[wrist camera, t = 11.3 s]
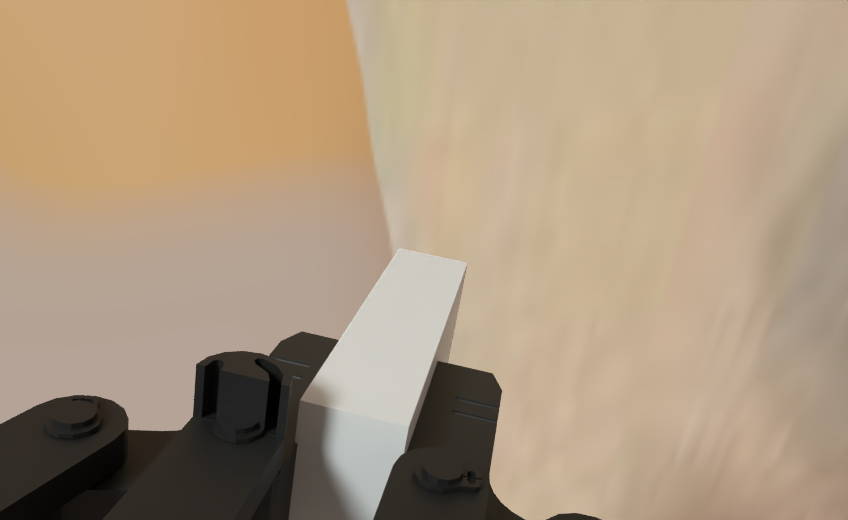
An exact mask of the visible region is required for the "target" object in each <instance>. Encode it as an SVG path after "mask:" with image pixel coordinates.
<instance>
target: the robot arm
mask: <svg viewBox="0 0 848 520" xmlns="http://www.w3.org/2000/svg"><path fill="white" fill-rule="evenodd" d="M466 268H467V263H466V262H462V261H457V260H453V259H448V258H443V257H439V256H434V255H429V254H425V253H420V252H415V251H411V250H406V249H402V248H399V249H398V251H397V252H396V254H395V255H394V257H393V259H392V260H391V262H390V263H389V265H388V266H387V268H386V269H385V271H384V272H383V274H382V275H381V277H380V278H379V280H378V281H377V283H376V285H375V286H374V288H373V289H372V291H371V292H370V294H369V296H368V297H367V298H366V300H365V301H364V303H363V304H362V306H361V307H360V309H359V310H358V312H357V314H356V315H355V317H354V318H353V320H352V321H351V323H350V324H349V326H348V327H347V329H346V331H345V332H344V333H343V335H342V336H341V338H340V340H336V339H332V338H327V337H323V336H319V335H315V334H310V333H306V332H300V333H298V334H295V335H293V336H291V337H289V338H287V339H285V340H282V341H281V342H280V343H279V344H278V345H277V347H276V348H275V349H274V350H273V351H272V353H271V354H270V355H269V356H267V355H264V354H261V353H253V352H246V351H237V352H224V353H220V354H216V355H213V356H209V357H207V358H205V359H204V360H202V361H201V362H200V363H198V364H197V365H196V379H195V396H194V410H193V417H192V418H191V419H190V421H189V422H188V423H187V424H186V425H185V426H184V427H183V428H182V430H179V431H140V430H128V417H127V414H126V412H125V410H124V408H122V407H121V406H119V405H118V404H116V403H115V402H113V401H112V400H108V399H104V398H101V397H97V396H84V395H74V396H69V397H62V398H56V399H53V400H50V401H47V402H45V403H42V404H39V405H37V406H35V407H33V408H31V409H29V410H27V411H25V412H23V413H21V414H19V415H17V416H16V417H13V418H11V419H10V420H8V421H6V422H4V423H2V424H0V520H525V519H523V518H521V517H520V516H518V515H516V514H515V513H513V512H511V511H510V510H509V509H508V508H507V507H506V506H504V505H503V504H502V503H501V502H500V500H499V499H498V498H497V497H496V495H495V494H494V492H493V490H492V488H491V485H490V480H489V472H490V466H491V459H492V453H493V446H494V439H495V433H496V426H497V420H498V413H499V407H500V400H501V394H502V390H501V388H500V386H499V384H498V382H497V381H496V379H495V377H494V375H493V373H488V372H484V371H480V370H475V369H471V368H467V367H462V366H458V365H454V364H449V363H448V359H449V354H450V349H451V344H452V339H453V334H454V329H455V324H456V319H457V313H458V308H459V303H460V298H461V293H462V288H463V283H464V278H465V273H466ZM547 520H601V519H598V518H596V517H592V516H587V515H583V514H578V513H570V514H558V515H556V516H553V517H551V518H549V519H547Z"/></svg>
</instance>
